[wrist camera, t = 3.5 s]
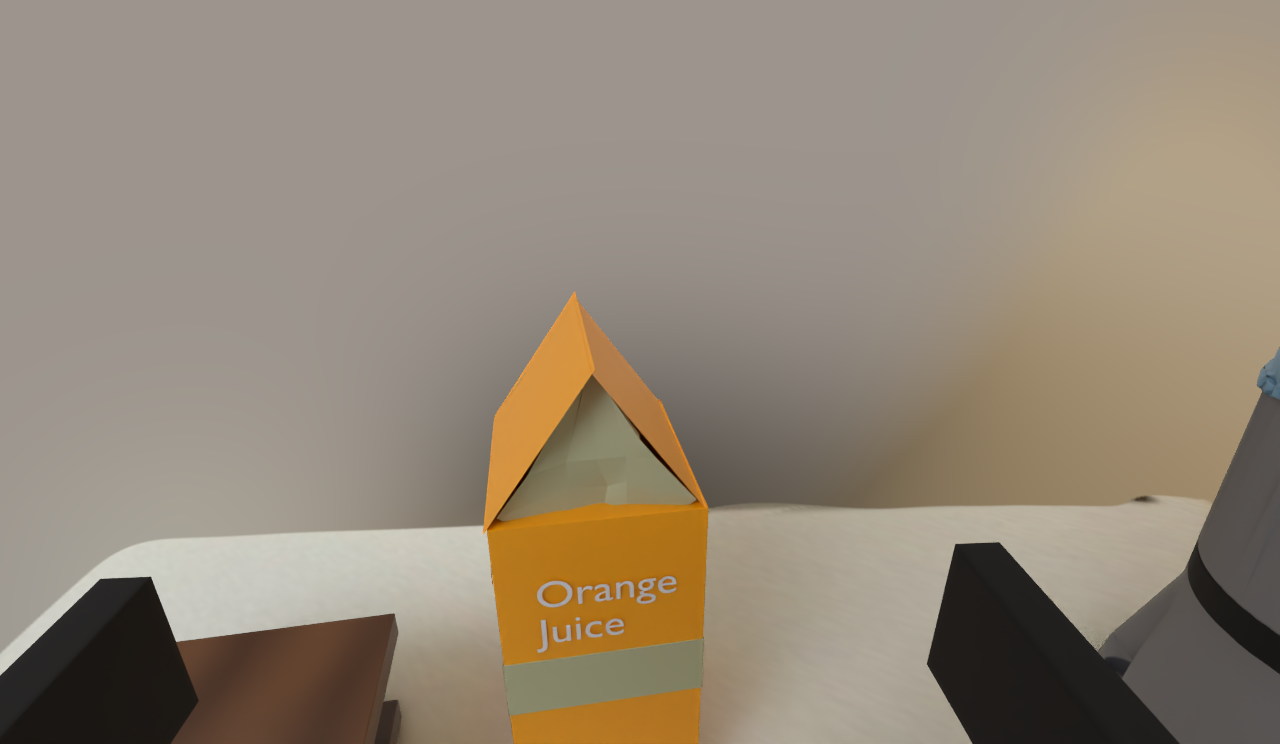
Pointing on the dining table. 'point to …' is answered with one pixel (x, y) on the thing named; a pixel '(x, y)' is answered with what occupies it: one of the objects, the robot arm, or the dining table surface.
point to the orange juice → (595, 550)
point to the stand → (294, 685)
